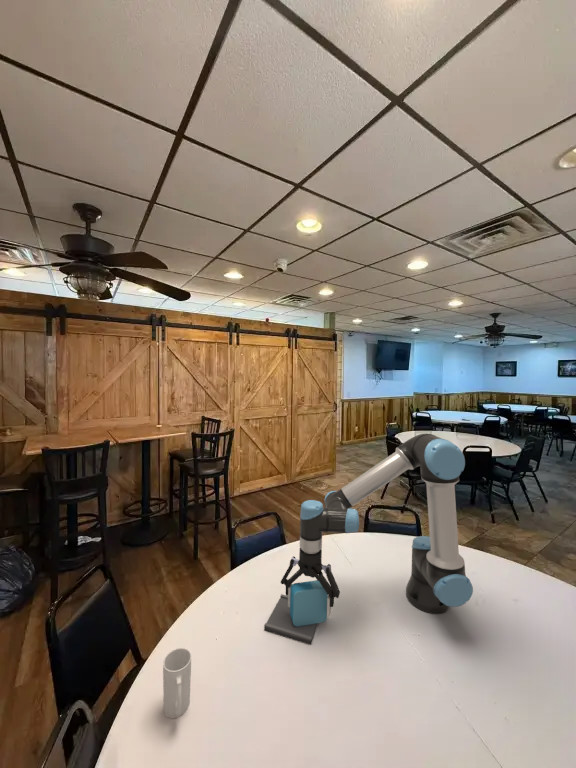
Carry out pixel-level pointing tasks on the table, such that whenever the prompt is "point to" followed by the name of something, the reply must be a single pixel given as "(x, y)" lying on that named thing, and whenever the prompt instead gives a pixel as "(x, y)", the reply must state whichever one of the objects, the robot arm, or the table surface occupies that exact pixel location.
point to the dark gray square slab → (288, 624)
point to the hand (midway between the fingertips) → (309, 609)
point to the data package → (308, 603)
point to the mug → (176, 682)
